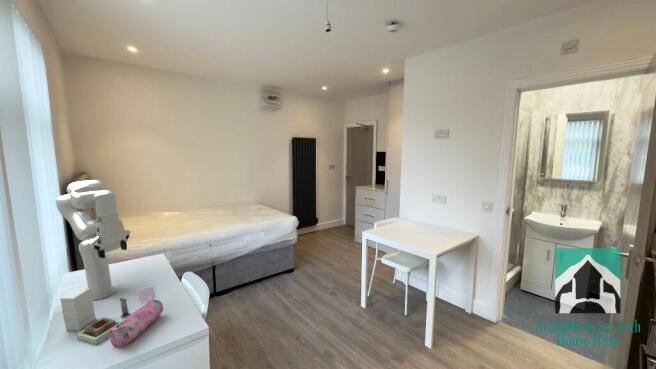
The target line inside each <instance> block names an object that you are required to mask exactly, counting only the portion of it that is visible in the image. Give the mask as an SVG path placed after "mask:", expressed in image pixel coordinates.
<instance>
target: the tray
mask: <svg viewBox="0 0 656 369" xmlns="http://www.w3.org/2000/svg"><path fill="white" fill-rule="evenodd" d="M107 318H108V317H107ZM108 319H110V318H108ZM111 319H112V318H111ZM112 320H115V326H116V325H118V324H120V323H121V322H122V321H123V320H122V321H121V320H117V319H112ZM115 326H114V327H115ZM112 328H113V327H112ZM112 328H110V329H109V330H107V331H105V332H104V333H102V334H101V335H99V336H97V337H93V336H89V335H86V333H85V329H82V331H81V330H80V331H79V332H78V333H76V340H77V341H79V342H83V343H88V344H91V345H94V346H97V345H98V344H100V343H102V342H103V341H105V340H106V339H108V338H110V336H109V332H110V330H111V329H112Z"/></svg>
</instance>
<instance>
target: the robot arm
mask: <svg viewBox="0 0 656 369" xmlns="http://www.w3.org/2000/svg"><path fill="white" fill-rule="evenodd" d="M66 192H67V194H66V193H65V194H63V195H60V196H58V197H57V198H56V200H55V207H56V209H57V210H58V212H59V214H60V215H61V216H62V217H63V218H64V219H66V221H67V222H68V223H69V225H70V227H71V229H72V231H73V232H74V235H75V237H76V238H77V239H78V240H80V241H81V242H80V243H79V244H78V250H79V254H80V256H81V258H82V261H83V262H82V263H83V266H84V274H85V278H86V283H87V287H86V288H91V295H92V300H93V302H95V301H98V300H103V299H105V298H108V297H110V296H111V295H113V294H114V293H116V292H117V287H116V286H114V285H113V284H112V278H111V272H110V271H111V270H110V265H109V261H108V259H107V257H106V253H110V252H114V251H116V250H119V249H121V250H123V251H127V250H128V244H127V242H128V239H129V238H130V235H131V230H128V229H127V230H125V226H124V224H123V221H122V219H121V218H119V211H118V204H117V197H116V194H115V192H112V191H111V190H108V189H105V185H104V184H103V182H102V181H100V180H99V179H91V180H81V181H80V180H79V181H73V182H72V183H69V184H68V186H67V187H66ZM93 208H95V210H96V211H95V213H96V218H95V219H94V220H93V219H92V218H91V216H90V214H88V213H86V212H85V211H83V210H85V209H86V210H88V209H93Z"/></svg>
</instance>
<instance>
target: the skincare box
mask: <svg viewBox="0 0 656 369" xmlns="http://www.w3.org/2000/svg"><path fill="white" fill-rule="evenodd" d="M59 300H60V305H61V310H62V316H63V321H64V325H65V330H66V331H69V332H70V331H71V332H72V331H77V332H78V331H79V332H81V330H83V328H84V329H85V327H87V326H89V325H90V324H91V323H93V321H94V320H96V313H95V312H96V311H95V306H94V301H93V300H92V295H91V288H87V287H76V288H75V289H73V290H72V291H70V292H68V293H67V294H64V295H63V296H62V297H60V298H59Z"/></svg>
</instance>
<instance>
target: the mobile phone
mask: <svg viewBox="0 0 656 369" xmlns="http://www.w3.org/2000/svg"><path fill="white" fill-rule="evenodd" d="M137 299H138V300H137V302H138V304H143V303H144V304H145V303H146V302H147V301H148V300H150V299H153V300H154V299H155V300H157V295H156V291H155V287H154V286H151V287H150V286H149V287H147V288H144V289H140V290H138V291H137Z"/></svg>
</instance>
